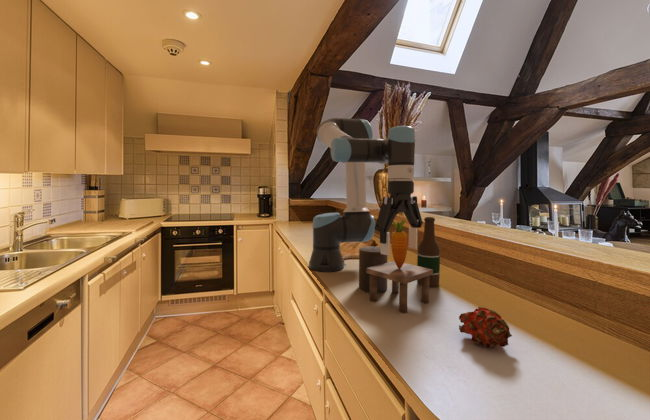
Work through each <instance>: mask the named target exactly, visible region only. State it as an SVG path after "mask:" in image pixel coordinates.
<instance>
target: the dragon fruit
mask: <svg viewBox="0 0 650 420" xmlns="http://www.w3.org/2000/svg"><path fill="white" fill-rule="evenodd" d="M458 320H460V323H461V324H462V325H458V330H459V332H460V333H461V334H462V333H464V334H466V335H471V339H470V340H471V342H472V343H473V344H475V345H479V344H481V343H482V345H484V346H485V347H486V348H491V349H495V347H496V346H499V347H504V348H505V347H506V346H508V345H509V339H510V338H512V337H513V335H512V333H511V331H510V327H509V325H508V323H507V322H506V321H505V320H504V319H502V316H501V315H500V314H499V313H498V312H497V311H495V310H494V309H489V308H487V307H483V306H478V307H477V308H475V309H474V311H468V312H465V313H464V312H463V313H460V315H459V316H458Z"/></svg>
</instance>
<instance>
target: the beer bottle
mask: <svg viewBox="0 0 650 420" xmlns="http://www.w3.org/2000/svg"><path fill="white" fill-rule="evenodd" d="M423 221H424V229H423V238H422V241H421V242H420V243H419V245H418V246H417V257H416V259H417V261H416V263H417V265H416V266H420V267H424V268H428V269H433V275H430V276H429V289H431V288H438V286H439V285H440V273H441V272H440V271H441V270H440V269H441V268H440V267H441V248H440V245H439V244H438V242H437V240H436V235H435V234H436V233H435V222H436V218H435V217H433V216H426V217H424V219H423ZM416 283H417V284H418V285H419V286H421V287H422V278H421V279H418V280H416Z"/></svg>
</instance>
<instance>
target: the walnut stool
mask: <svg viewBox="0 0 650 420" xmlns="http://www.w3.org/2000/svg"><path fill="white" fill-rule="evenodd" d="M366 273H368V274H370V293H369V301H370V302H377V301H378V300H377V299H378V295H377V294H378V293H377V276H379V277H382V278H385V279H387V280H390V281H391V292H392V293H393V294H398V312H399V313H401V314H406V313H408V287H409V286H408V285H409V283H412V282H415V281H417V280H418V279H421V278H422V286H421V291H420V292H421V293H420V298H421V300H420V302H421V303H422V304H428V303H430V287H429V276H430V275H433V269H428V268H424V267H420V266H417V265H414V264H411V263H405V262H404V264H403V265H402V267H401V268H400V269H399V268H398V267H397V265H396V263H395V261H394V260H393V261H389V262H388V261H387V263H384V264H381V265H377V266H373V267H369V268H366Z"/></svg>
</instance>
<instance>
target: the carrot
mask: <svg viewBox="0 0 650 420" xmlns="http://www.w3.org/2000/svg"><path fill="white" fill-rule="evenodd" d="M405 222H406V219H401V221H397V222H396V221H395V220H393V222H392V224H393V226H394V228H395V230H396V231H393V232H390V246H391V247H390V248H391V251H392V252H391V253H392V257H393V261H395V263H396V265H397V267H398V268H399V269H400V268H401V267H402V265H403V264H404V263H405V261H406V258H407V252H408V244H409V234H408V233H407V232H406V231H403V230H404V229H405V228H406V226H405Z"/></svg>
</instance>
